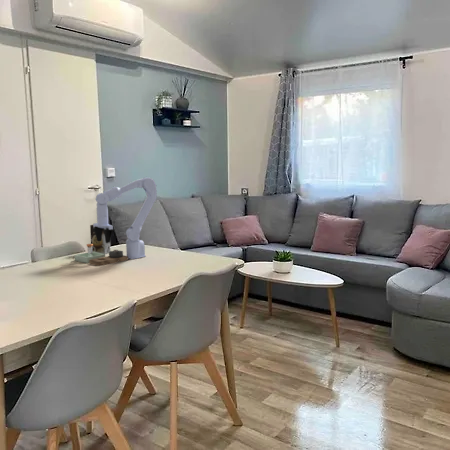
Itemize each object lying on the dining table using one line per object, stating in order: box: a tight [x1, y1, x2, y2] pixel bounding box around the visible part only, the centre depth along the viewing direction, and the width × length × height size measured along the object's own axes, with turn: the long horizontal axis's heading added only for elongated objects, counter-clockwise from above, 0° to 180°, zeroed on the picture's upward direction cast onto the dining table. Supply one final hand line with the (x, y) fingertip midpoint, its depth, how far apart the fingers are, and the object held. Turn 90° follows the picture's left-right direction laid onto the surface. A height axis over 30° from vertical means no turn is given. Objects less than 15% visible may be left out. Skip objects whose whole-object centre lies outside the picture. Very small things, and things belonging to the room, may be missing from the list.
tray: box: [74, 252, 106, 264], centre depth 246 cm, size 11×11×3 cm
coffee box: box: [89, 224, 111, 255], centre depth 264 cm, size 9×6×16 cm
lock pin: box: [86, 243, 93, 257], centre depth 245 cm, size 3×3×8 cm
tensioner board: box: [88, 249, 129, 267], centre depth 242 cm, size 18×8×6 cm, turn 139°
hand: (103, 241), depth 247 cm, fingers open, 7 cm apart
